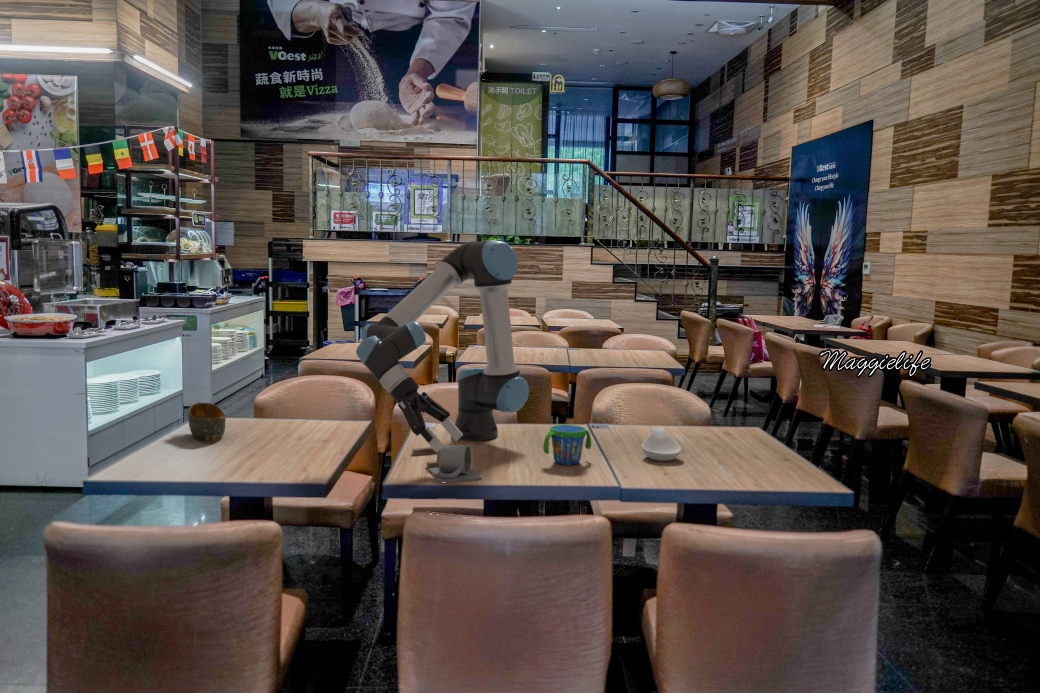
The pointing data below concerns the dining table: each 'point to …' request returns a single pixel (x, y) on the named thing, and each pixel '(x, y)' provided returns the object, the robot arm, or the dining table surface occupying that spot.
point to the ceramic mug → (454, 460)
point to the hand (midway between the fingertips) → (450, 443)
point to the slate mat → (461, 477)
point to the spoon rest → (660, 446)
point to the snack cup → (567, 443)
